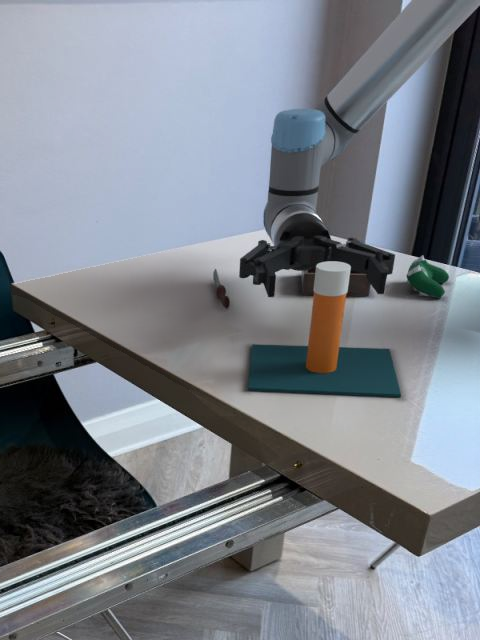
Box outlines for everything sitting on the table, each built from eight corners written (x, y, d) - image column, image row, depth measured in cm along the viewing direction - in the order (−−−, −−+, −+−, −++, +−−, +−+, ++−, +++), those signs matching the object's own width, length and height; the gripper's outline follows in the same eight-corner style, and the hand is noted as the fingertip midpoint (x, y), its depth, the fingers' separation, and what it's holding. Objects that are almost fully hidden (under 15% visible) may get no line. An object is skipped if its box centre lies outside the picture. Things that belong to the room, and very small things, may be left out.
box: (363, 276, 131) (366, 255, 129) (368, 296, 123) (372, 274, 121) (301, 275, 133) (303, 254, 131) (301, 295, 125) (304, 273, 123)
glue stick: (336, 361, 102) (349, 261, 95) (337, 374, 99) (351, 271, 91) (304, 360, 103) (315, 260, 95) (305, 373, 100) (316, 271, 92)
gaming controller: (430, 291, 128) (407, 263, 128) (451, 276, 126) (428, 247, 125) (424, 310, 122) (400, 280, 121) (446, 294, 119) (421, 264, 118)
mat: (388, 351, 105) (389, 348, 105) (400, 397, 94) (401, 394, 93) (252, 346, 108) (252, 344, 108) (247, 390, 97) (248, 387, 97)
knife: (208, 279, 133) (209, 261, 132) (217, 278, 133) (218, 261, 131) (221, 317, 118) (222, 298, 116) (231, 317, 118) (232, 298, 116)
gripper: (382, 261, 117) (423, 311, 99) (214, 266, 119) (225, 316, 101) (390, 209, 113) (435, 251, 95) (216, 215, 114) (228, 257, 97)
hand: (327, 285), depth 98 cm, fingers open, 13 cm apart
